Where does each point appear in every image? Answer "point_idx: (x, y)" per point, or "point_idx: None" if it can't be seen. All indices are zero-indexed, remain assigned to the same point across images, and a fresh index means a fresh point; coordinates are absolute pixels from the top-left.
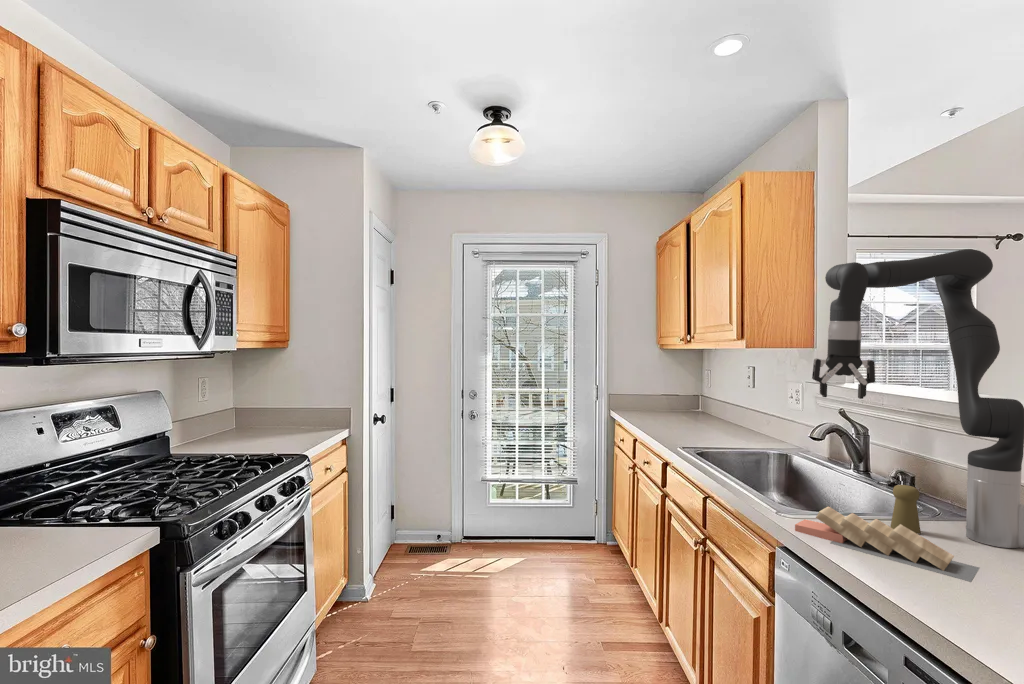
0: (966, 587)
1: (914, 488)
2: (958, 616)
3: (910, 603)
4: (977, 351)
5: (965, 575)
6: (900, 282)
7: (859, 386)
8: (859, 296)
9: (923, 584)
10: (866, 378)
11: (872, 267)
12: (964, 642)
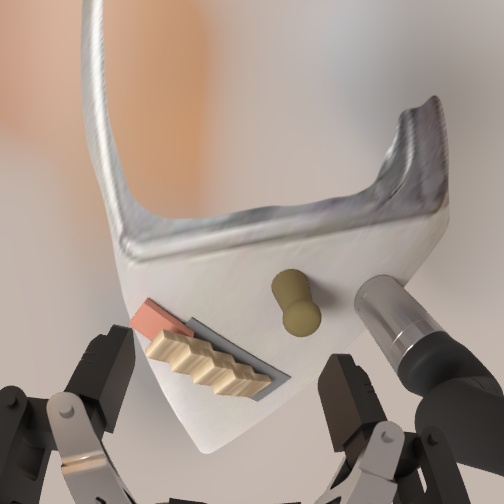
0: (249, 404)
1: (311, 332)
2: (213, 430)
3: (191, 423)
4: None
5: (262, 393)
6: None
7: (344, 427)
8: None
9: (216, 405)
10: (406, 461)
11: None
12: (200, 444)
